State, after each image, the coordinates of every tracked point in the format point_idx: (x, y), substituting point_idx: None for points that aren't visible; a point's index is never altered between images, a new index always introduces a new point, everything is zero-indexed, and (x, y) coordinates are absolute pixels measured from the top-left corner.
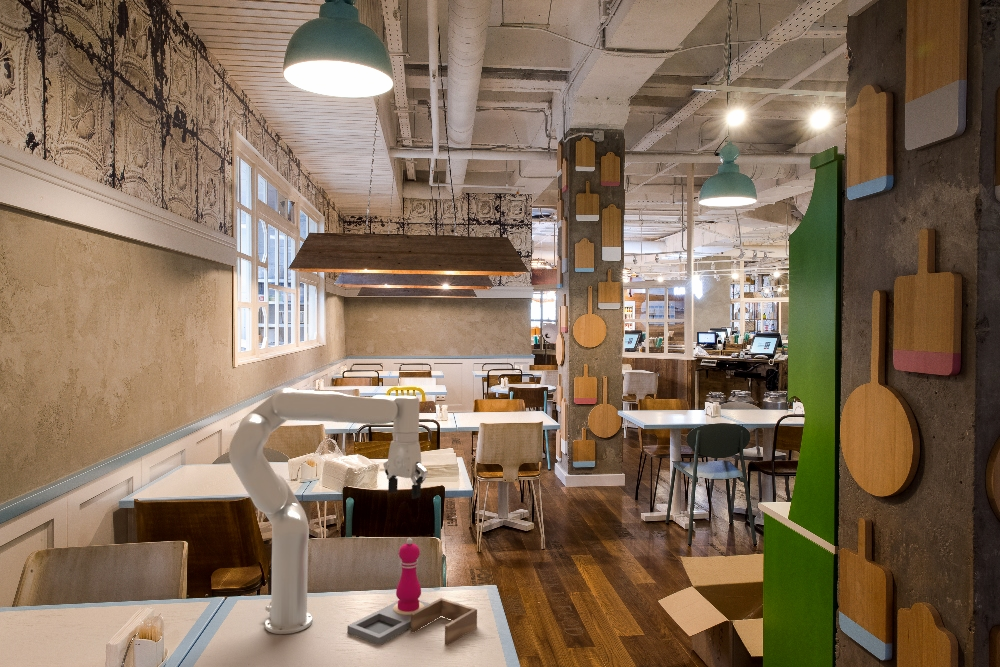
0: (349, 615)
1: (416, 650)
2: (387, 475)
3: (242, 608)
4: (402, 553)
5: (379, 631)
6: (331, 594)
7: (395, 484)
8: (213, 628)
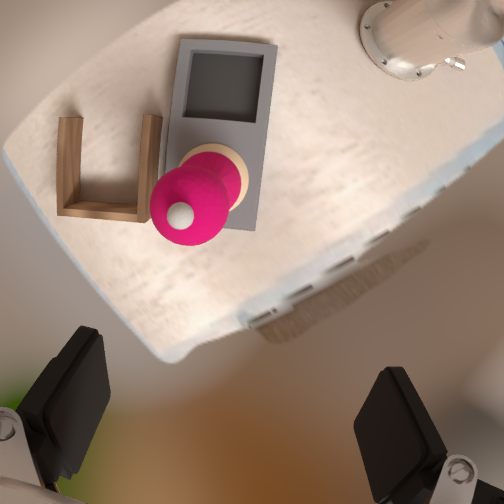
0: (329, 115)
1: (112, 70)
2: (477, 483)
3: (496, 77)
4: (191, 167)
5: (218, 82)
6: (423, 187)
7: (375, 457)
8: None
